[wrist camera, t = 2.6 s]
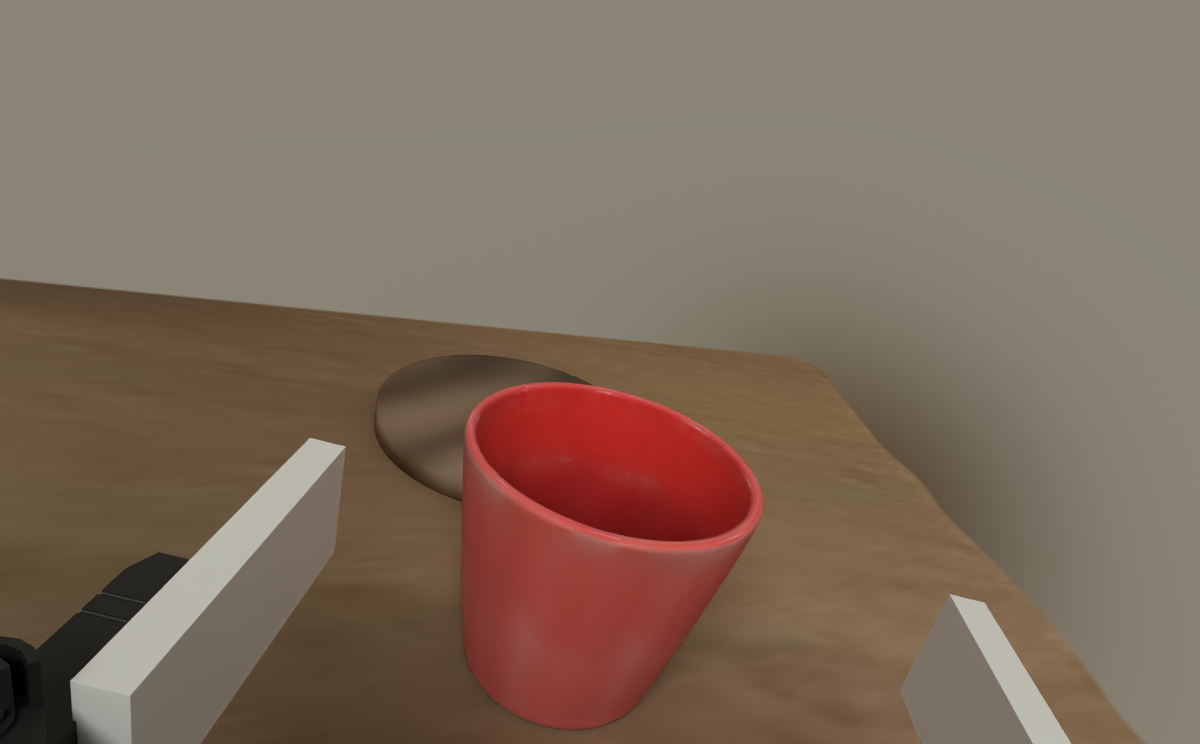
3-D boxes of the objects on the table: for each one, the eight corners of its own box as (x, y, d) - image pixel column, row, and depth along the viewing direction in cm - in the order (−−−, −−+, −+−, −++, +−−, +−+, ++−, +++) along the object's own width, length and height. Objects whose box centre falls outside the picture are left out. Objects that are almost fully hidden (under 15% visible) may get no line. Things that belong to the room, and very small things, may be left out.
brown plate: (311, 424, 40) (314, 400, 40) (480, 354, 54) (483, 336, 53) (556, 556, 35) (563, 531, 34) (673, 441, 49) (679, 422, 48)
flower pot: (593, 542, 37) (643, 371, 33) (739, 714, 29) (826, 515, 25) (387, 588, 30) (418, 383, 27) (501, 822, 23) (569, 580, 19)
